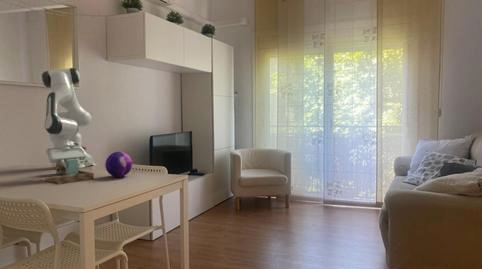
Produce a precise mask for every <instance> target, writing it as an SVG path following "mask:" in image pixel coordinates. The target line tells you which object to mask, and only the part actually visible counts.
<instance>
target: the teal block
mask: <svg viewBox="0 0 482 269" xmlns="http://www.w3.org/2000/svg"><path fill="white" fill-rule="evenodd" d="M66 163H68V167H66V174H69V175H70V174H71V175H74V174H78V170H79V168H78V159H68V160H66Z"/></svg>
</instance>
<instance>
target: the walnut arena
mask: <svg viewBox="0 0 482 269" xmlns="http://www.w3.org/2000/svg"><path fill="white" fill-rule="evenodd" d="M94 175H95V173H94V172H90V171H85V170H81V169H80V170H79V169H78V174H71V175H60V176H52V177H46V178H44V181H46V182H49V183H53V184H57V185H62V184H70V183H77V182H83V181H84V182H85V181H90V180H94V179H95V177H94Z"/></svg>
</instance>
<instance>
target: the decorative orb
mask: <svg viewBox="0 0 482 269" xmlns="http://www.w3.org/2000/svg"><path fill="white" fill-rule="evenodd" d="M104 164H105V166H104V167H105V170H106V172H107V173H108V174H109V175H111V176H112V177H115V178H122V177H125V176H127V175H128V174H129V173H130V172H131V170H132V167H133V160H132V158H131V157H130V155H129V154H127V153H126V152H123V151H114V152H112V153H110V155H108V156H107V158H106V159H105V163H104Z"/></svg>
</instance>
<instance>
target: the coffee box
mask: <svg viewBox="0 0 482 269" xmlns="http://www.w3.org/2000/svg"><path fill="white" fill-rule="evenodd" d="M65 163H66V162H65ZM55 164H56V166H55V167H56V169H55V170H56V175H61V176H67V175H69V174H66V167H64V165H62V164H61V163H60V162H58V163H55ZM70 175H72V174H70Z"/></svg>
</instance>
